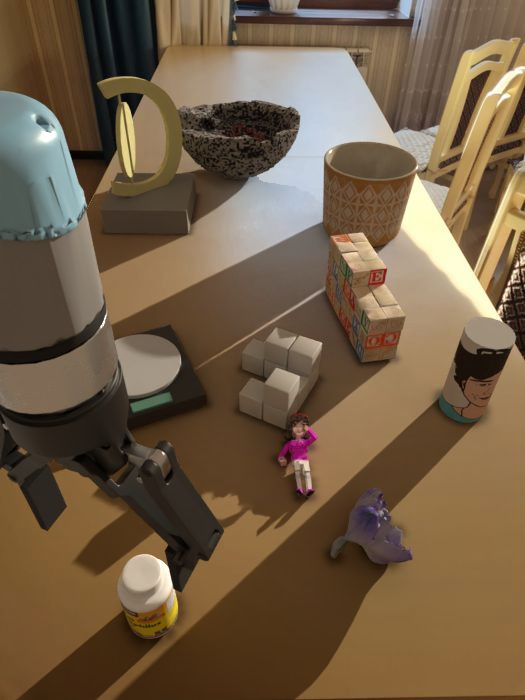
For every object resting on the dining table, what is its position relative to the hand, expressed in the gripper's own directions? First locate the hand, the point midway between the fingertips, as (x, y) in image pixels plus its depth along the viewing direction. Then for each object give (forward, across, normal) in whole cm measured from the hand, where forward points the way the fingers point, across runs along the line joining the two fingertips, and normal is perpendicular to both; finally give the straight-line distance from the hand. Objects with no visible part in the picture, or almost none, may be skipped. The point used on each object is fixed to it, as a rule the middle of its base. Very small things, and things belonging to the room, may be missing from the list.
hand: (117, 545), depth 47 cm
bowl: (+18, +40, -109) cm, 117 cm away
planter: (+18, +2, -93) cm, 94 cm away
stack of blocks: (+18, -7, -60) cm, 64 cm away
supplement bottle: (+18, 0, -2) cm, 18 cm away
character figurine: (+18, -8, -27) cm, 34 cm away
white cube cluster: (+18, +1, -38) cm, 42 cm away
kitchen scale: (+18, +21, -32) cm, 42 cm away
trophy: (+18, +49, -80) cm, 95 cm away
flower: (+18, -20, -19) cm, 33 cm away
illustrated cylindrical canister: (+18, -27, -47) cm, 58 cm away
